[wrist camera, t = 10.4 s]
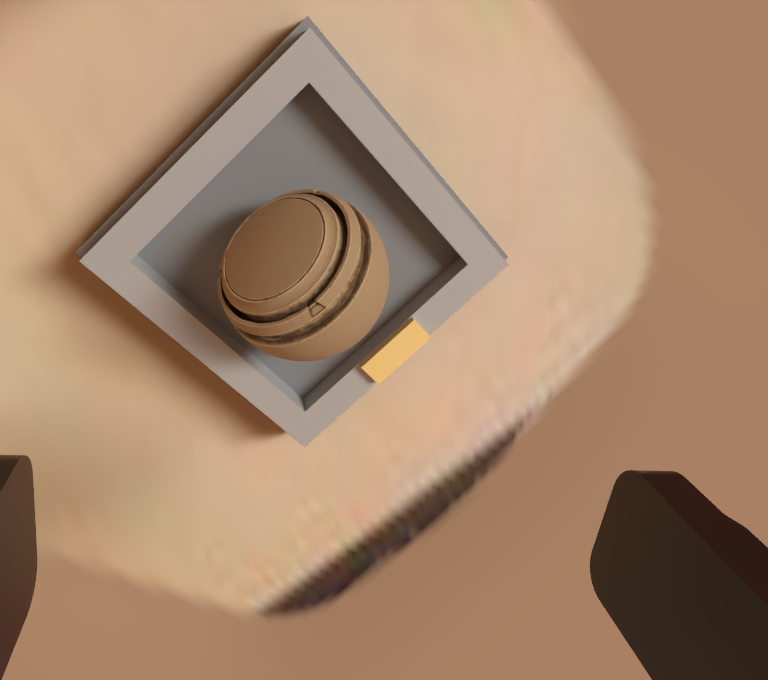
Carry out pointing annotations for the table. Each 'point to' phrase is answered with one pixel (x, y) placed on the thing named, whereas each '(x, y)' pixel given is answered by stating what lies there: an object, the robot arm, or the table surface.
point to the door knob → (304, 276)
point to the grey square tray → (277, 177)
